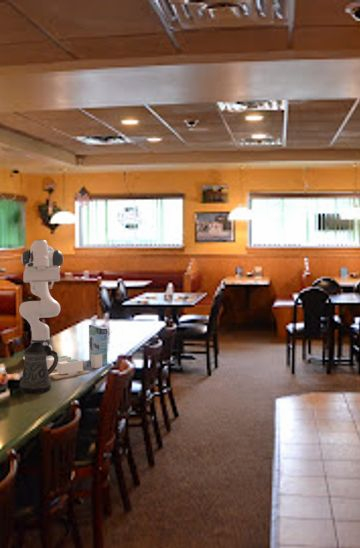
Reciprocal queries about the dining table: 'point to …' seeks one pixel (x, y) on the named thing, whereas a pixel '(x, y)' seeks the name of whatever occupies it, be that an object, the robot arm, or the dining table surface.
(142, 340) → the dining table surface
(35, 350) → the beer stein
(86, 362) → the loose relay
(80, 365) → the rail board
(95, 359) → the module block
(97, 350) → the blue cardboard box
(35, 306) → the robot arm
